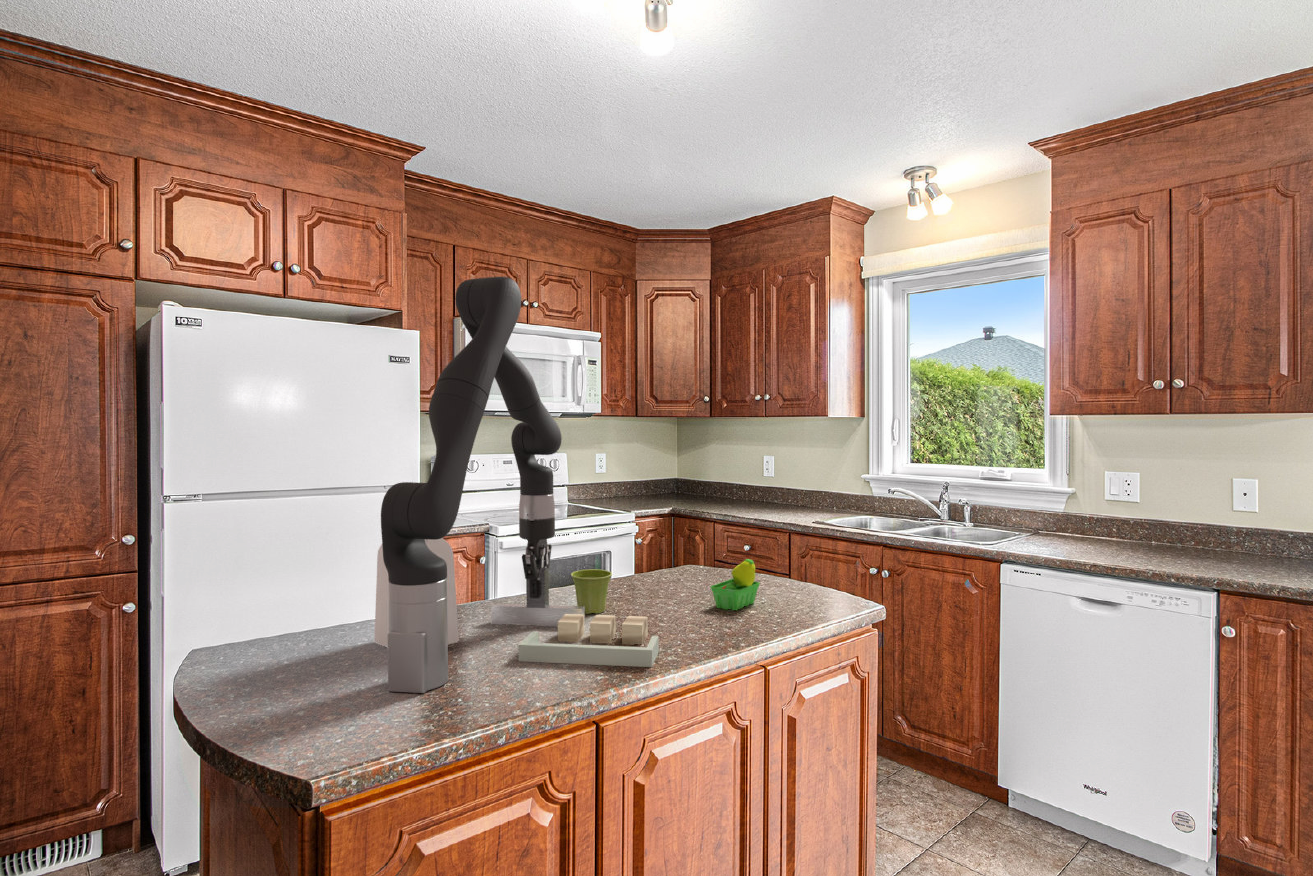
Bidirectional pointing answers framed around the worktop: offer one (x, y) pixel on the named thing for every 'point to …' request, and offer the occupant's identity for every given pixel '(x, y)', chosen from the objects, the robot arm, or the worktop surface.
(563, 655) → the tray
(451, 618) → the milk
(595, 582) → the plant pot
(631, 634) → the block right
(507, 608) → the t-shaped handle
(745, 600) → the fruit basket
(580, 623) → the block left
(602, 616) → the block middle
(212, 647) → the worktop surface
